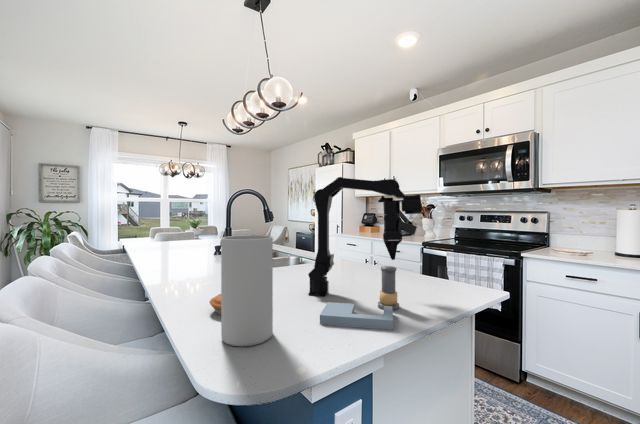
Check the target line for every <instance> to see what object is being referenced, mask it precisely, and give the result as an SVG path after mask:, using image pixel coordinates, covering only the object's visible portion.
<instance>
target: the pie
mask: <svg viewBox="0 0 640 424" xmlns="http://www.w3.org/2000/svg"><path fill="white" fill-rule="evenodd" d="M209 304H210V305H211V307H212V308H213V309H214V310H215V312H216V314H218V315H220V316H221V293H220V294H217V295H216V296H214V297H212V298H211V299H210V300H209Z"/></svg>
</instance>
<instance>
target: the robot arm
mask: <svg viewBox="0 0 640 424" xmlns="http://www.w3.org/2000/svg"><path fill="white" fill-rule="evenodd" d="M343 189H348V190H358V191H359V190H360V191H366V192H367V191H368V192H375V193H378V194H381V197H380V199H378V200H377V202H378V203H383V234H382V237H383V239H382V240H383V243H384V245H385V248H386V251H387V252H388V254H389V257H390V259H391V261H394V260H396V254H397V251H398V250H397V248H398V245H399V244H400V243H401V242H402V240H403V233H402V232H405V233H408V234H410V235H413V236H414V235H415V234H416V232H417V229H418V226H417V225H414V223H413V221H411V220H407V222H405V221H402V218H401V212H404V215H419V214H420V215H421V214H422V213H423V204H422V199H421V194H415V195H405V193H404V192H403V191H402V190H401V189H400V184H399V182H398V181H397V180H396V179H392V178H390V179H380V180H366V179H357V178H347V177H342V176H339V177H337V178H335V179H334V180H333V181H332V182H330V183H329V184H327V185H325V187H323V188H320V189H317V190H316V191H315V192H314V196H313V199H314V205H315V208H316V212H317V253H316V256H315V261H314V265H313V268H312V269H311V270H310V272H308V274H307V275H308V277H309V292H308V294H307V295H308V296H320V297H326V295H327V294H328V293H329V289H330V288H329V287H330V285H329V280H328V276H327V275H328V273H329V272H330V271H331V270H332V269H333V266H334V265H335V262H334V257H335V254H334V253H332V254H331V252H330V210H331V208H332V203H333V198H334V197H335V196H336V195H337V194H339V193H340V192H341V191H342V190H343ZM384 195H385V196H388V197H385V196H384ZM394 197H395V198H397V199H398V200H397V199H394ZM400 203H401V204H400ZM400 205H401V206H400Z"/></svg>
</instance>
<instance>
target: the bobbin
mask: <svg viewBox="0 0 640 424" xmlns="http://www.w3.org/2000/svg"><path fill="white" fill-rule="evenodd" d="M380 271H381V290H379V301H378V302H377V307H378V309H380V310H383V311H384V306H392V310H393V312H394V311H398V310H399V309H400V303H399V302H398V291H396V271H397V267H395V266H390V265H389V266H387V265H385V266H380Z"/></svg>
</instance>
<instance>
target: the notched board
mask: <svg viewBox="0 0 640 424" xmlns="http://www.w3.org/2000/svg"><path fill="white" fill-rule="evenodd" d="M393 312H394V311H393V310H392V306H384V310H383V315H377V314H376V315H374V314H364V313H362V314H361V313H355V303H348V302H347V303H346V302H345V303H343V302H333V301H327V303H326V304H325V306H324V307H323V309H322V311H321V312H320V314H319V325H329V326H341V327H353V328H367V329H379V330H390V331H391V330H394V313H393Z"/></svg>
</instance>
